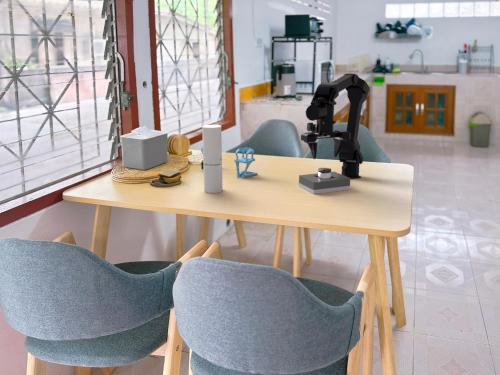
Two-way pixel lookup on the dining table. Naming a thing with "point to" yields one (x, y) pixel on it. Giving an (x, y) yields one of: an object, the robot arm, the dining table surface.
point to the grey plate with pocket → (324, 183)
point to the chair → (244, 160)
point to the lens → (324, 173)
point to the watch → (202, 160)
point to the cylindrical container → (212, 158)
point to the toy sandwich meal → (167, 178)
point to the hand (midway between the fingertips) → (324, 158)
